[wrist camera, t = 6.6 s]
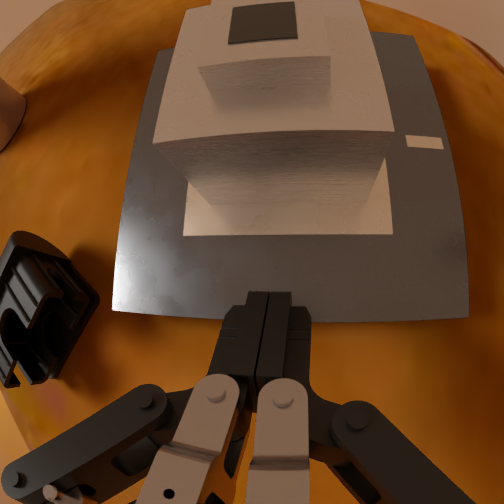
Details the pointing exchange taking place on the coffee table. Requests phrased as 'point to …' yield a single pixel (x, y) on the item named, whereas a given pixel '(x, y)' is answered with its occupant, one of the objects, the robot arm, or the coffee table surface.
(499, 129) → the coffee table surface
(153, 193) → the grey flat square slab
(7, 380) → the end cap
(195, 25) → the cover
